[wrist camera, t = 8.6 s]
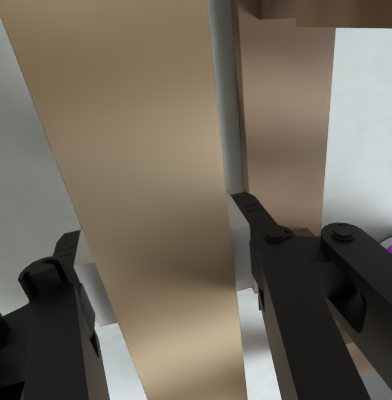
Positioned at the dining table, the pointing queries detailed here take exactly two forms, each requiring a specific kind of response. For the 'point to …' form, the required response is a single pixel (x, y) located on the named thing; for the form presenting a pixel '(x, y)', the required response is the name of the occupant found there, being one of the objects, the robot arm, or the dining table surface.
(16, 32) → the rail
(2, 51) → the dining table surface
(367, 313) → the robot arm
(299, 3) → the rack
